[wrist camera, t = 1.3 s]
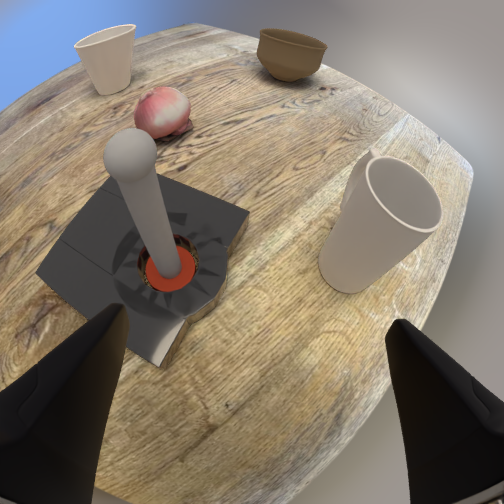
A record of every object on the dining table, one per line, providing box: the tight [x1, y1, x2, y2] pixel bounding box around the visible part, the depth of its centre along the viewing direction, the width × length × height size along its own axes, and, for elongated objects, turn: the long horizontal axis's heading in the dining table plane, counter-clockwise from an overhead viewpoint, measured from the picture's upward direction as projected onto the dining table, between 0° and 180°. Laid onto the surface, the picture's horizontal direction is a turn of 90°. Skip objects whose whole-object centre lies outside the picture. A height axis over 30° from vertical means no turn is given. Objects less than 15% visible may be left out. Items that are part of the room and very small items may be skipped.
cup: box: [74, 24, 136, 95], centre depth 35 cm, size 12×12×12 cm
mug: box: [318, 148, 443, 294], centre depth 22 cm, size 10×7×12 cm, turn 4°
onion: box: [134, 86, 194, 142], centre depth 31 cm, size 8×8×7 cm
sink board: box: [35, 173, 250, 370], centre depth 24 cm, size 16×17×2 cm
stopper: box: [103, 128, 196, 292], centre depth 18 cm, size 5×5×16 cm
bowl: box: [257, 29, 327, 82], centre depth 41 cm, size 13×13×10 cm
